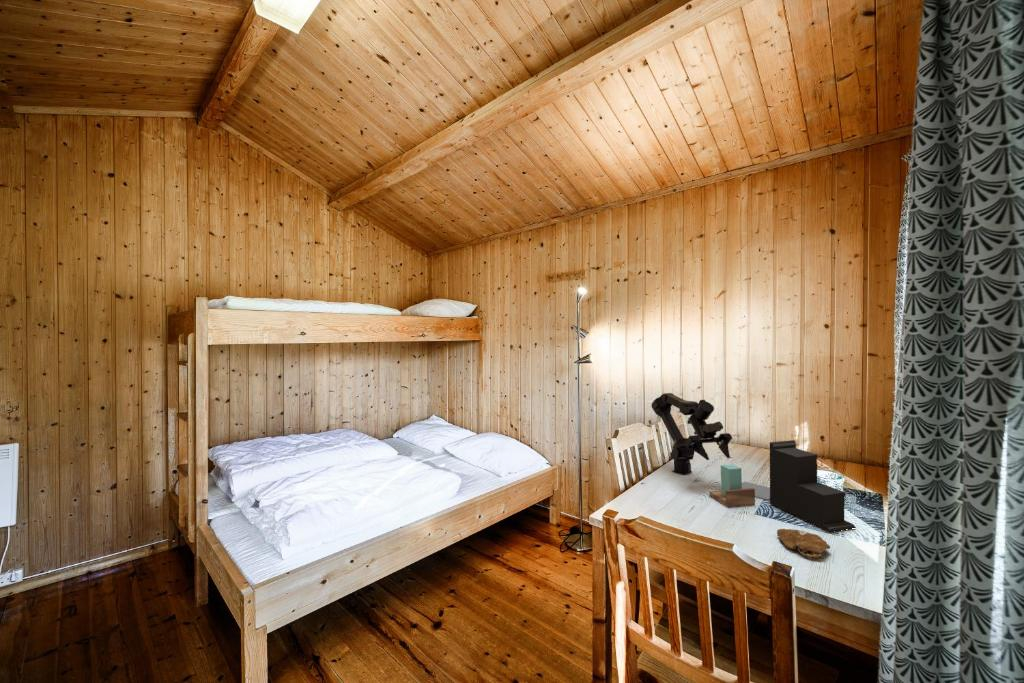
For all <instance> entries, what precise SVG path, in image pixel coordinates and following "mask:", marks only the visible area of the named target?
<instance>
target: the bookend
mask: <svg viewBox="0 0 1024 683" xmlns="http://www.w3.org/2000/svg"><path fill="white" fill-rule="evenodd" d="M818 458H819V455H818V454H816V453H813V452H810V451H807V450H803V449H801V448H797V442H796V440H793V439H792V440H791V439H790V440H780V441H770V442H769V487H770V500H769V504H770V505H772V506H774V507H776V508H779V509H780V510H782V511H784V512H786V513H788V514H790V515H792V514H793V515H792V516H794V515H795V516H794V517H796V516H797V517H796V518H798V517H800V518H801V519H800V518H799V519H800V520H802V519H804V520H806V521H808V522H810V523H812V524H814V525H816V526H818V527H820V528H819V529H821V528H822V529H821V530H823V529H824V530H823V531H825V530H826V531H825V532H827V531H828V532H827V533H829V532H832V533H835V532H834V531H840V532H842V531H841V530H846V529H852V528H857V526H855V524H853V523H851V522H850V521H847V520H845V497H846V491H842V490H839V489H837V488H835V487H831V486H828V485H826V484H824V483H822V482H818ZM804 520H803V521H804ZM806 521H805V522H806ZM808 522H807V523H808ZM810 523H809V524H810ZM812 524H811V525H812ZM814 525H813V526H814ZM816 526H815V527H816ZM818 527H817V528H818Z"/></svg>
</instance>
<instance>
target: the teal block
mask: <svg viewBox="0 0 1024 683" xmlns="http://www.w3.org/2000/svg"><path fill="white" fill-rule="evenodd" d="M742 475H743V474H742V467H739V466H737V465H734V464H721V465H720V490H721V494H723V495H725V496H726V490H734V489H742V483H743V480H742Z"/></svg>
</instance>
